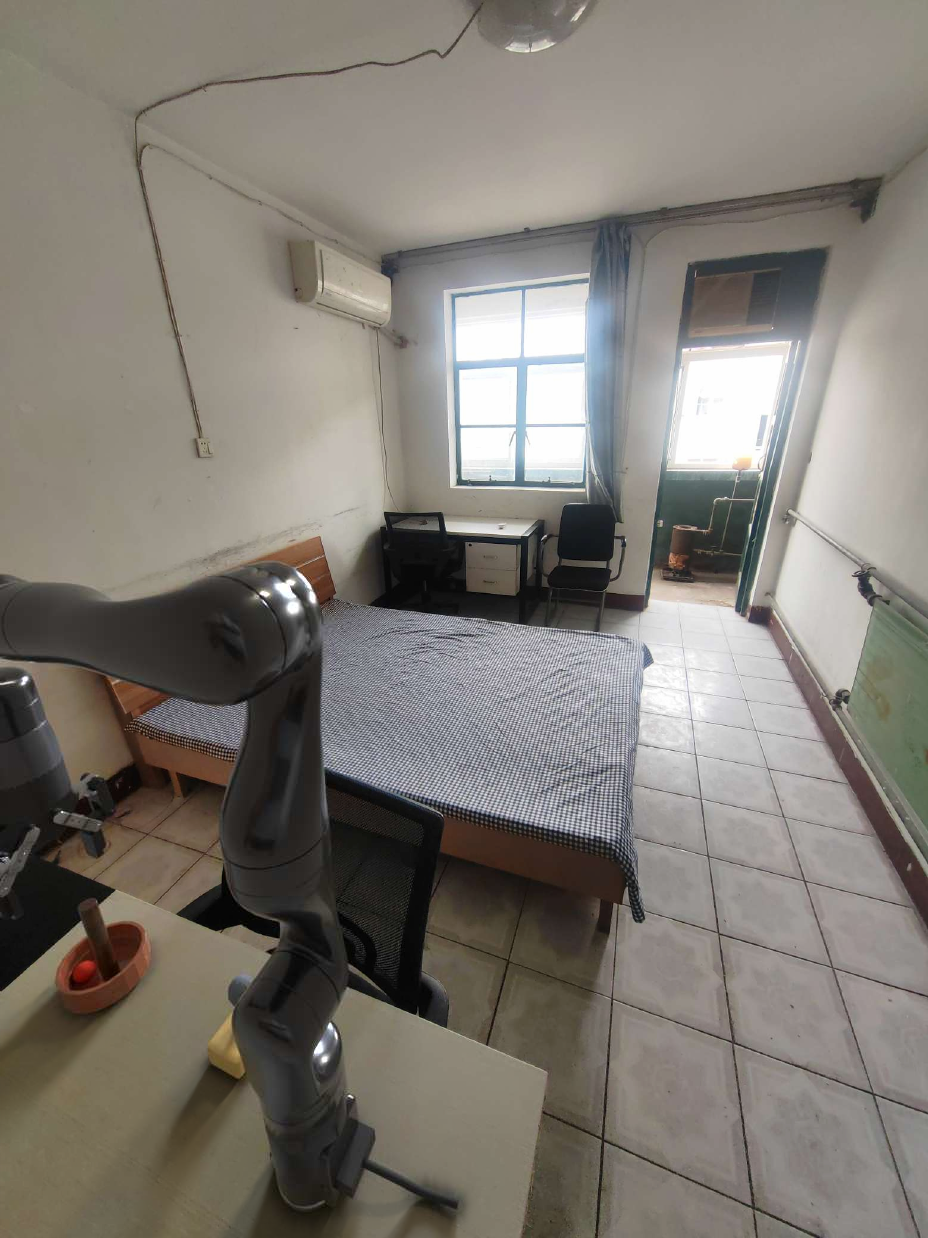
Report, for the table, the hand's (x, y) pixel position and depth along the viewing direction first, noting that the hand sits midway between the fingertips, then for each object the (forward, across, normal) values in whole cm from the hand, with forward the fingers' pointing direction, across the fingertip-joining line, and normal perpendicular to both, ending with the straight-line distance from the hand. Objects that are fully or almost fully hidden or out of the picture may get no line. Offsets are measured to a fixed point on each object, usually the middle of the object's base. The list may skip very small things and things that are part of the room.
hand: (58, 882), depth 54 cm
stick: (+36, +8, +15) cm, 40 cm away
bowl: (+36, +8, +16) cm, 40 cm away
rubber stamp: (+36, +10, -12) cm, 40 cm away
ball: (+34, +7, +19) cm, 39 cm away
